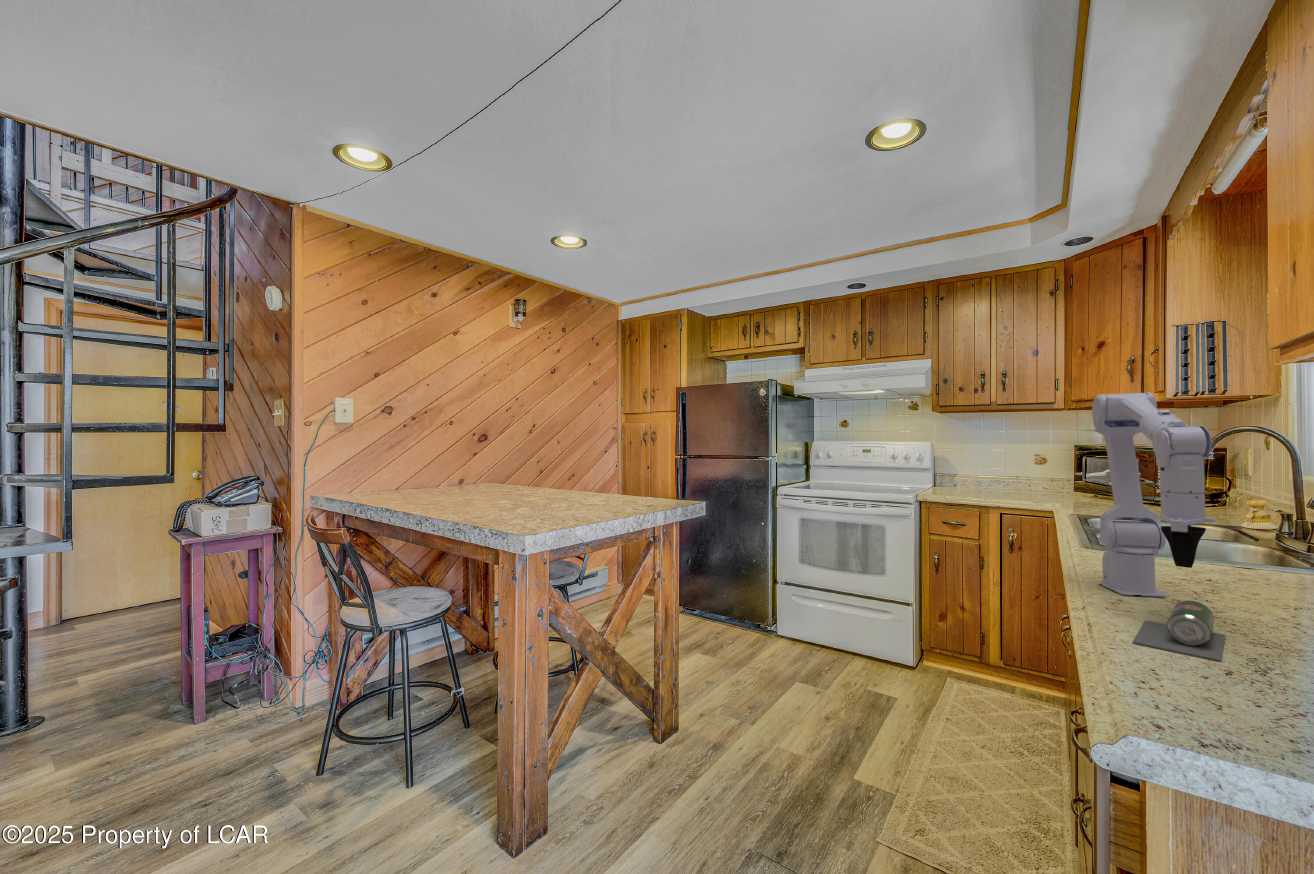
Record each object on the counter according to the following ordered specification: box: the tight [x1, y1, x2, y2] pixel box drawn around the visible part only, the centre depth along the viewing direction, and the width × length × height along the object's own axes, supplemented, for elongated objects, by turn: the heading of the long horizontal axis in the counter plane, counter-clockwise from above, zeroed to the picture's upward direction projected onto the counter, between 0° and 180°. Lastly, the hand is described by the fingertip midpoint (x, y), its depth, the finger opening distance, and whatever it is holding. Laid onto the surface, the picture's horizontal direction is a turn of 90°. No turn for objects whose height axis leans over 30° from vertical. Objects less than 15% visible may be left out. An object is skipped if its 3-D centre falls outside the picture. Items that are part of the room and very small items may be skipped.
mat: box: [1132, 619, 1226, 662], centre depth 88 cm, size 15×10×1 cm, turn 131°
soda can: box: [1166, 600, 1215, 646], centre depth 88 cm, size 5×5×12 cm
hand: (1184, 566), depth 95 cm, fingers closed
